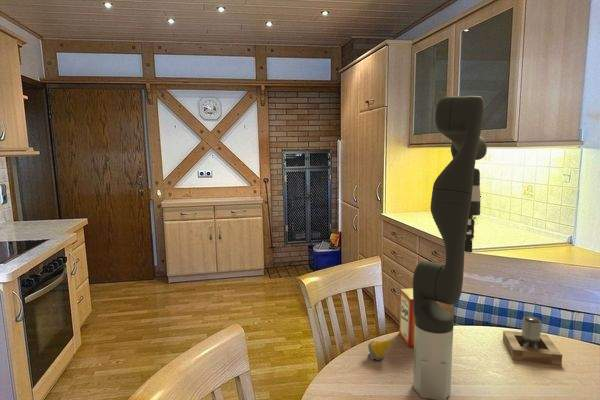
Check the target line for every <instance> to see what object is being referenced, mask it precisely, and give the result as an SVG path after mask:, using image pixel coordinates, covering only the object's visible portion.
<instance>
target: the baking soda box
mask: <svg viewBox="0 0 600 400" xmlns="http://www.w3.org/2000/svg"><path fill="white" fill-rule="evenodd" d="M399 289H400V290H399V322H398V324H399V325H398V326H399V328H398V329H399V330H398V333H399V336H400V337H401V338H402V339H403V341H404V342H405V343H406V345H407V346H408V348H409V349H410V348H414V333H415V317H414V312H413V287H410V288H408V287H406V288H399Z"/></svg>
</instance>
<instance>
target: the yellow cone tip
mask: <svg viewBox="0 0 600 400" xmlns="http://www.w3.org/2000/svg"><path fill="white" fill-rule="evenodd" d="M392 342H393V339H388V340H380V341H375V340H373V341H370V342H369V343H368V345H367V346H368V347H367V348H368V349H367V350H368V351H369V354H368V355H367V356H368V357H369V359H370V360H371V359H372V360H371V361H373V360H374V359H375V360H377V361H380V360H382V359H384V356H385V353H386V352H387V350H388V348H389V346H390V345H391V344H392Z"/></svg>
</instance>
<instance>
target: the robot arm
mask: <svg viewBox="0 0 600 400" xmlns="http://www.w3.org/2000/svg"><path fill="white" fill-rule="evenodd" d="M434 112H435V113H434V124H435V128H436V129H437V131H438V132H439V133H440V134H442V135H443V136H445V138H447V139H448V140H450V141H451V142H452V143H451V145H450V153H451V156H452V160H450V162H449V163H448V164H447V166H445V167H444V168H443V170H442V171H441V172H440V173H439V175H438V176H437V177H436V179H435V181H433V186H432V192H431V199H430V207H429V208H430V213H431V216H432V219H433V222H434V223H435V226H436V227H437V229H438V232H439V234H440V236H441V239H442V241H443V244H444V249H445V264H444V263H439V262H433V261H428V260H423V261H420V262H418V263H417V265H416V267H415V269H414V271H413V276H412V277H413V278H412V288H413V312H414V317H415V333H414V347H413V364H412V365H413V366H412V367H413V368H412V369H413V371H412V372H413V375H412V376H413V378H412V388H413V390H414V391H415V392H416V393H417V395H418V396H419V398H423V399H430V400H447V398H449V396H450V395H451V391H452V369H453V368H452V366H453V343H454V342H453V341H454V323H455V322H454V317H453V315H452V314H451V313H450V312H449V311H447V310H446V309H444V308H443V307H442V306H441V305H440V304H439V303H441V304H445V305H452V306H453V305H455V304H456V303H458V301H459V300H460V297H461V294H462V290H463V289H462V288H463V284H464V269H465V267H464V265H465V253H472V252H473V240H474V239H475V223H476V222H475V219H474V218H473V216H475V217H477V216H481V172H480V169H479V168H478V167H476V161H480V160H482V159H484V157H486V155H487V151H488V146H487V143H486V141H485V139H484V138H483V137H482V136H481V133H482V127H483V124H484V123H483V122H484V116H485V100H484V99H483V98H482V96H479V95H464V96H463V95H462V96H461V95H458V96H457V95H455V96H453V95H452V96H445V97H442V98H440V99H439V100H438V102H437V104H436V107H435V111H434Z"/></svg>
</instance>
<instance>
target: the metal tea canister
mask: <svg viewBox="0 0 600 400" xmlns="http://www.w3.org/2000/svg"><path fill="white" fill-rule="evenodd" d="M521 327H522V328H521V332H522V339H521V345H520V346H521V347H529V348H538V349H541V347H540V335H541V332H542V320H541V319H540V318H538V317H535V316H529V315H528V316H524V317H523V318H522V326H521Z"/></svg>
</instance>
